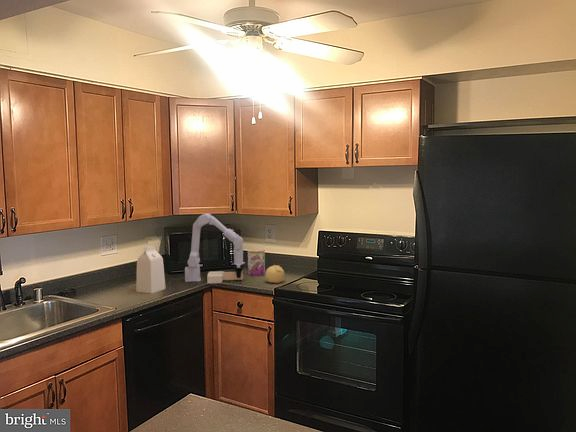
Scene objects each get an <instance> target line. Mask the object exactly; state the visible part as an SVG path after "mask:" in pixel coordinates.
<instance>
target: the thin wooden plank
mask: <svg viewBox="0 0 576 432" xmlns="http://www.w3.org/2000/svg"><path fill="white" fill-rule="evenodd" d="M221 274H223V277H222V281H235V280H239V281H240V280H244V273H243V271H242V272H241V278H237V275H236V271H224V272H221Z"/></svg>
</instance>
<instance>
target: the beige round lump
mask: <svg viewBox="0 0 576 432" xmlns="http://www.w3.org/2000/svg"><path fill="white" fill-rule="evenodd" d="M264 275H265V280H266V281H267V282H268V283H272V284H280V283H282V282H283V280H284V278H285V271H284V269H283V268H282V266H280V265H276V264H273V265H272V266H269V267H268V268H267V269H265V274H264Z"/></svg>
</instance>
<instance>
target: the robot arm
mask: <svg viewBox="0 0 576 432" xmlns="http://www.w3.org/2000/svg"><path fill="white" fill-rule="evenodd" d="M207 224H208V225H210V226H211V225H213V226H215V227H216V228H217V229H219V230H220V231H221V232H223V235H224V237H225V238H226V239H228V240H229V241H230V242H231V243H233V246H234V248H233V265H234V266H233V268H234V269H233V270H234V272H236V275H237V278H241V272H243V269H244V267H243V266H244V265H245V264H246V262H245V261H244V248H243V245H244V238H242V236H240V234H237V233H236V232H235V231H234V229H233V228H232V229H231V228H227V227H226V226H225V225H224V224H223V223H221V222H220V221H219V220H218V219H217V218H216V217H215V216H213V215H212V214H211V213H209V212H206V213H203V214H201V215H200V216H198V217H197V219H195V222H194V223H193V224H192V231H191V232H192V236H191V246H190V247H191V248H190V254H189V258H188V260H187V265H188V266H185V268H184V281H185V283H187V282H190V283H191V282H201V280H202V277H201V266H200V263H201V258H200V252H199V251H200V239H201V229H202V227H203V226H205V225H207Z"/></svg>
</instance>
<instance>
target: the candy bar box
mask: <svg viewBox="0 0 576 432" xmlns="http://www.w3.org/2000/svg"><path fill="white" fill-rule="evenodd" d="M265 252H266V251H265V249H248V250H247V275H248V276H264V275H265V273H266V268H265V267H266V266H265V265H266V258H265V256H266V253H265Z"/></svg>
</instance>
